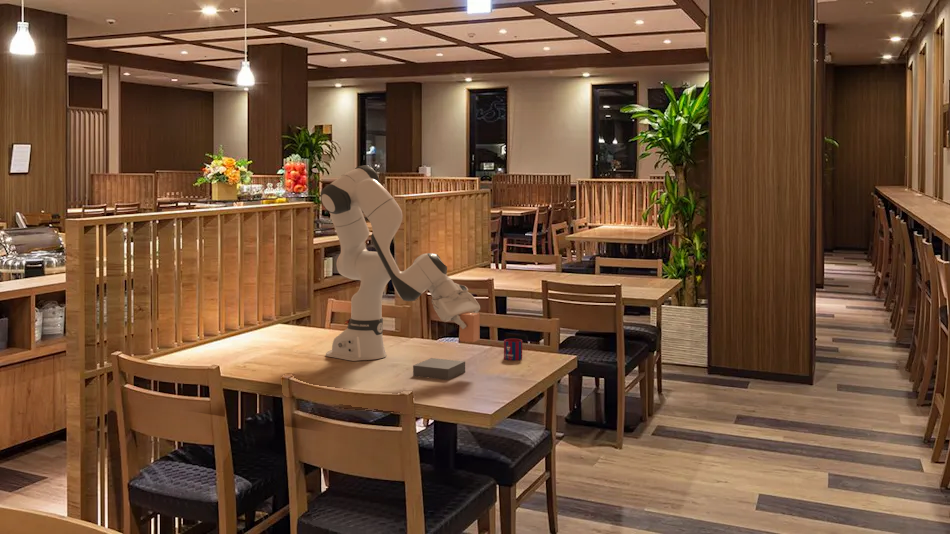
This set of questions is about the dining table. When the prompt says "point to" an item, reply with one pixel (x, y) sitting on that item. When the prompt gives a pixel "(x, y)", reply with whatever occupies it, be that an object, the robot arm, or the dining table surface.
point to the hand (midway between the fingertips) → (471, 326)
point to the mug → (513, 349)
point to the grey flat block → (439, 368)
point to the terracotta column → (470, 327)
